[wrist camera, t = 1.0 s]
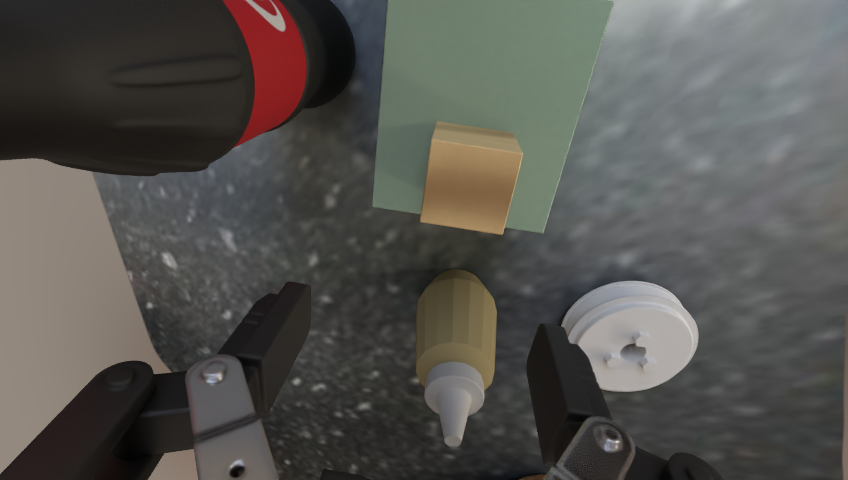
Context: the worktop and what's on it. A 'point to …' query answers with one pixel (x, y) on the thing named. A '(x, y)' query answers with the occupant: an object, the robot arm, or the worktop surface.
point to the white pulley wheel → (632, 334)
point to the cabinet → (485, 89)
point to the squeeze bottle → (455, 348)
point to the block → (470, 177)
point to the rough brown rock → (534, 477)
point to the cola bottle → (161, 78)
